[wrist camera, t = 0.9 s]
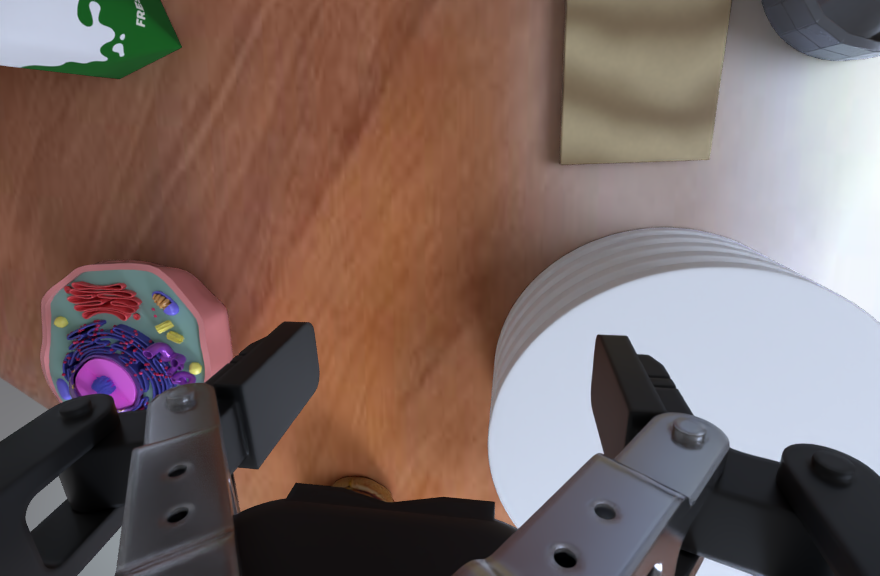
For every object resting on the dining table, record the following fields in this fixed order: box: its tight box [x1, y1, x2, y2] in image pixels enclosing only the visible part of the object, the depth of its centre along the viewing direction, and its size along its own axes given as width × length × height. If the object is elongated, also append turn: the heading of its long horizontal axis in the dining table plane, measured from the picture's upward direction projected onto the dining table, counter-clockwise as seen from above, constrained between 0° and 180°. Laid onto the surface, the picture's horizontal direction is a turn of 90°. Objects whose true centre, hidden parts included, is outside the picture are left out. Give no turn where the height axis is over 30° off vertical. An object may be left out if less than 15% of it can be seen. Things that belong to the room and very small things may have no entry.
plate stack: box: [488, 227, 880, 576], centre depth 37 cm, size 28×28×12 cm
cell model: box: [40, 260, 233, 413], centre depth 43 cm, size 17×20×11 cm
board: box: [559, 0, 732, 165], centre depth 33 cm, size 20×11×1 cm, turn 2°
